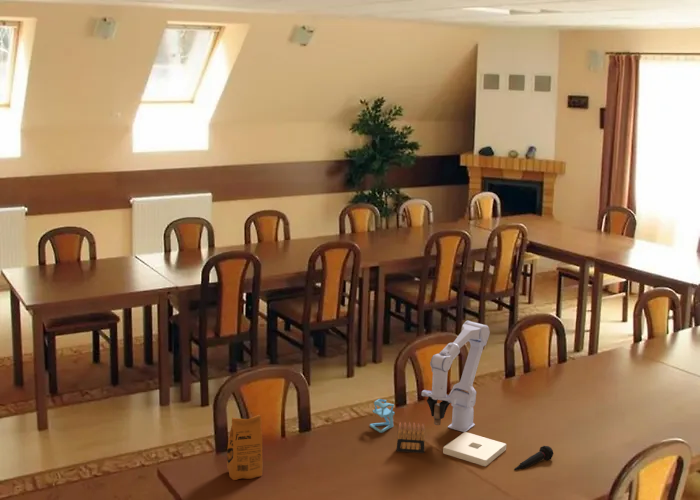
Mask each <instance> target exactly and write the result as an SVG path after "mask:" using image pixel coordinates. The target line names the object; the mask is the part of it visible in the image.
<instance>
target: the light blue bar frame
mask: <svg viewBox="0 0 700 500" xmlns="http://www.w3.org/2000/svg"><path fill="white" fill-rule="evenodd" d="M373 404H374V409H372V413H374V414H375V415H378V416H379V417H380V418H384V420H385V422H375V423H369V427H370V428H372V429H373V430H375V431H377V432H378V433H380V434H383V433H384V432H386V431H387V430H389V429H391V428H393V427H394V415H395V412H396V411H394V410H393V409H394V407H395V404H394V403H390V402H387V399H384V398H383V399H382V398H378V399H376V400H374V402H373ZM378 407H379V408H378ZM388 407H391V408H388ZM379 426H386V427H384V428H382V429H380V428H378V427H379Z"/></svg>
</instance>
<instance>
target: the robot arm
mask: <svg viewBox="0 0 700 500" xmlns="http://www.w3.org/2000/svg"><path fill="white" fill-rule="evenodd" d="M490 333H491V331H490V327H489V326H488V324H482V323H479V322H475V321H471V320H466V321H465V322H464V323H463V324H462V326H461V331H460V333H459V334H458V335H457V337H456V338H455V340H454V341H453V342H449V343H447V344H446V345H445V346H444V347H443V349H442V350H440V352H439V353H436V354H433V355H432V357H431V359H430V362H429V365H430V367H431V373H432V383H431V390H427V389H423V390H422V391H421V396H422V397H427V399H426V402H427V404H428V406H429V410H430V413H431V414H430V415H431V417H434V404H436V403H439V405H440V419H441V420H443V419H444V418H445V415H446V412H447V410H448V407H449V405H451V407H452V413H451V414H452V416H451V417H452V419H451V423H450V424H449V425H448V426H447V428H449V429H451V430H455V431H458V432H462V433H464V432H467V431H469V430H470V429H472V428H473V427H474V426H475V425H476V424H475V423H474V413H475V411H474V410H475V409H474V407H475V406H476V400H477V399H476V398H477V391H476V389H475V388H474V385H473V384H474V381H475V377H476V373H477V371H478V367H479V363H480V360H481V356H482V353H483V351H484V346H487V342H488V340H489V337H490V335H491V334H490ZM468 342H469V345H470V348H469V351H468V353H467V358H466V361H465V363H464V367H463V370H462V375H461V378H460V380H459V382H457V383H455V384H453V387H452V388H451V391H450V392H449V394H447V391H448V372H449V370H450V369H451V366H452V364H453V363H454V362H453V361H454V360H455V358H457V357H458V355H459V354H460V353H461V350H460V349H461V348H462V347H463V346H465V345H466V344H467V343H468ZM438 400H439V401H440V402H438Z"/></svg>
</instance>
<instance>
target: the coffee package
mask: <svg viewBox="0 0 700 500" xmlns="http://www.w3.org/2000/svg"><path fill="white" fill-rule="evenodd" d="M230 427H231V428H230V432H229V434H228V435H229V437H228V442H227V449H226V450H227V451H226V468H227V471H228V473H229V474H228V476H229V478H230V479H232V480H233V481H236V480H241V479H246V480H251V479H255V478H258V477H259V478H260V477H262V476H263V466H264V465H263V429H262V415H260V414H258V415H254V416H252V417H249V418H239V417H232V418H231V426H230Z"/></svg>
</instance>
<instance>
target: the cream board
mask: <svg viewBox="0 0 700 500" xmlns="http://www.w3.org/2000/svg"><path fill="white" fill-rule="evenodd" d="M506 450H507V443H505V442H501V441H499V440H495V439H491V438H488V437H483V436H481V435H478V434H474V433H471V432H467V431H466V432H462V433H461V434H460V435H459V436H457V437H456V438H455V439H453V440H451V441H450V442H448V443H447V444H446V445H444V446H443V448H442V453H443V454H444V455H446V456H447V455H448V456H451V457H453V458H457V459H460V460H463V461H466V462H469V463H473V464H476V465H478V466H482V467H487V466H488V465H490V464H491V463H492V462H493V461H494V460H495V459H497V458H498V457H499V456H501V455H502V454H503V453H504V452H505V451H506Z"/></svg>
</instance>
